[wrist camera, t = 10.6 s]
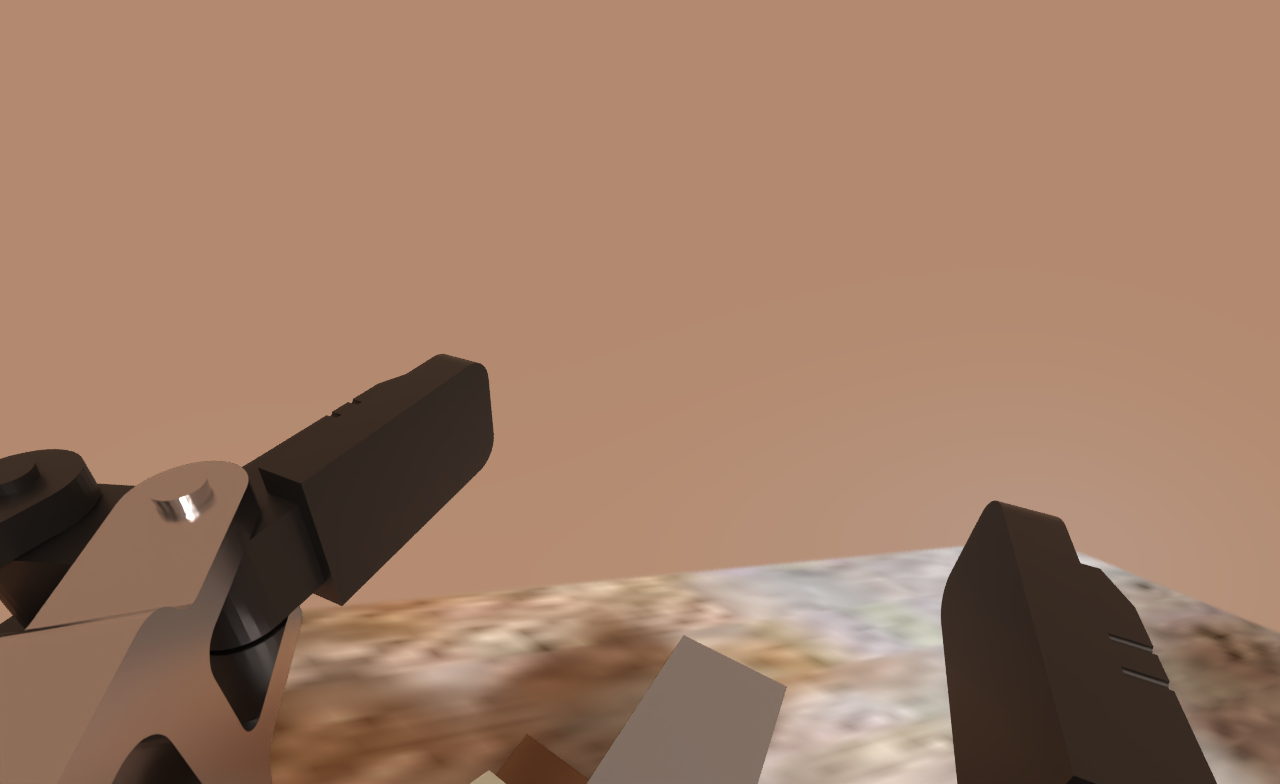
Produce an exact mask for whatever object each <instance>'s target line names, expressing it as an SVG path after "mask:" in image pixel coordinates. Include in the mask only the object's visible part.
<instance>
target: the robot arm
mask: <svg viewBox="0 0 1280 784" xmlns="http://www.w3.org/2000/svg"><path fill="white" fill-rule="evenodd" d="M493 439H494V433H493V422H492V411H491V401H490V391H489V379H488V373H487V370H486V369H485V367H484V366H483V365H482V364H480V363H476V362H472V361H469V360H465V359H461V358H457V357H453V356H449V355H446V354H439V355H436V356H434V357H432V358H431V359H429V360H428V361H426V362H425V363H423V364H421V365H420V366H418V367H417V368H415V369H413V370H412V371H410V372H409V373H407V374H405V375H402V376H400V377H396V378H394V379H391V380H388V381H385V382H382V383H379V384H377V385H375V386H374V387H372V388H370V389H369V390H367V391H365V392H364V393H362V394H361V395H359V396H357V397H356V398H354V399H353V402H352V403H349V402H348V403H346V404H344V405H343V406H341V407H339V408H338V409H336V410H334V411H333V412H332V415H331V416H325V417H323V418H321V419H320V420H318V421H317V422H315V423H313V424H312V425H310V426H309V427H307V428H305V429H304V430H302V431H300V432H299V433H297V434H295V435H294V436H292V437H291V438H289V439H287V440H286V441H284V442H282V443H281V444H279V445H277V446H276V447H274V448H273V449H271V450H269V451H268V452H266V453H264V454H263V455H262V456H260V457H258V458H256V459H255V460H253V461H252V462H250V463H248V464H246V465H245V466H243V467H240V466H238V465H237V464H234V463H230V462H224V461H204V462H197V463H191V464H186V465H183V466H179V467H176V468H172V469H169V470H167V471H164V472H162V473H159V474H157V475H155V476H153V477H151V478H148V479H147V480H145V481H143V482H142V483H140V484H138V485H137V486H127V485H126V486H125V485H109V484H97V483H96V481H95V479H94V478H93V476H92V475H91V472H90V471H89V469H88V467H87V466H86V464H85V462H84V460H83V459H82V458H81V456H80V455H79V454H77V453H75V452H72V451H68V450H60V449H47V450H38V451H31V452H26V453H21V454H17V455H13V456H8V457H5V458H2V459H0V600H1V601H2V603H3V604H4V605H5V606H6V608H7V609H8V610H9V611H10V612H11V614H12V615H13V616H12V617H11V618H9V619H7V620H6V621H4V622H3V623H1V624H0V784H272V778H271V770H270V748H271V741H272V736H273V732H274V728H275V725H276V721H277V717H278V713H279V709H280V705H281V701H282V697H283V693H284V689H285V685H286V681H287V678H288V674H289V670H290V666H291V662H292V658H293V654H294V650H295V646H296V642H297V638H298V634H299V631H300V627H301V622H302V611H301V608H300V606H299V605H300V604H302V603H303V602H304V601H305V600H306V599H307V598H308V597H309V596H310V595H311V594H313V593H314V594H316V595H318V596H320V597H323V598H325V599H327V600H330V601H332V602H334V603H336V604H339V605H341V606H343V605H344V604H345V603H346V602H347V601H348V600H349V599H350V598H351V597H352V596H353V595H354V594H355V593H356V592H357V591H358V590H359V589H360V588H361V587H362V586H363V585H364V584H365V583H366V582H367V581H368V580H369V579H370V578H371V577H372V576H373V575H374V574H375V573H376V572H377V571H378V570H379V569H380V568H381V567H382V566H383V565H384V564H385V563H386V562H387V561H388V560H389V559H390V558H391V557H392V556H393V555H395V554H396V553H397V552H398V551H399V550H400V549H401V548H402V547H403V546H404V545H405V544H406V543H407V542H408V541H409V540H410V539H411V538H412V537H413V536H414V534H416V533H417V532H418V531H419V530H420V529H421V528H422V527H423V526H424V525H425V524H426V523H427V522H428V521H429V520H430V519H431V518H432V517H433V516H434V515H435V514H436V513H437V512H438V511H439V510H440V509H441V508H442V507H443V506H444V505H445V504H446V503H447V502H448V501H449V500H451V498H453V497H454V496H455V495H456V494H457V493H458V492H459V491H460V490H461V489H462V488H463V487H464V486H465V485H466V484H467V483H468V482H469V481H470V480H471V479H472V478H473V477H474V476H475V475H476V474H477V473H478V472H479V471H480V470H481V469H482V468H483V466H484V465H485V464H486V462H487V460H488V458H489V456H490V453H491V451H492V447H493V441H494V440H493ZM941 625H942V635H943V645H944V655H945V665H946V675H947V685H948V695H949V704H950V714H951V724H952V734H953V744H954V754H955V764H956V774H957V784H1217V783H1216V780H1215V778H1214V776H1213V774H1212V772H1211V770H1210V768H1209V765H1208V763H1207V761H1206V759H1205V757H1204V755H1203V752H1202V750H1201V748H1200V746H1199V744H1198V742H1197V740H1196V737H1195V735H1194V733H1193V731H1192V729H1191V727H1190V725H1189V722H1188V720H1187V718H1186V716H1185V714H1184V712H1183V710H1182V707H1181V705H1180V703H1179V701H1178V699H1177V697H1176V694H1175V692H1174V691H1172V690H1169V688H1168V684H1169V679H1168V677H1167V675H1166V673H1165V671H1164V669H1163V667H1162V664H1161V662H1160V660H1159V658H1158V656H1157V655H1155V654H1152V649H1153V645H1152V643H1151V641H1150V639H1149V636H1148V634H1147V632H1146V630H1145V628H1144V626H1143V624H1142V621H1141V619H1140V617H1139V615H1138V613H1137V611H1136V609H1135V607H1134V606H1133V605H1132V603H1131V602H1130V601H1129V600H1128V599H1127V598H1126V597H1125V596H1124V595H1123V594H1122V592H1121V591H1120V590H1119V589H1118V588H1117V587H1116V586H1115V585H1114V584H1113V583H1112V581H1111V580H1110V579H1109V578H1108V577H1107V576H1106V575H1105V574H1104V573H1103V572H1102V570H1101V569H1099V568H1095V567H1092V566H1088V565H1085V564H1081V563H1080V561H1079V559H1078V556H1077V554H1076V551H1075V549H1074V546H1073V543H1072V541H1071V539H1070V536H1069V533H1068V531H1067V528H1066V526H1065V524H1064V522H1063V521H1062V520H1061V519H1060V518H1058V517H1056V516H1052V515H1048V514H1044V513H1040V512H1037V511H1033V510H1029V509H1025V508H1021V507H1018V506H1014V505H1010V504H1006V503H1003V502H999V501H992V502H990V503H989V504H988V505H987V506H986V507H985V509H984V511H983V512H982V514H981V516H980V518H979V520H978V522H977V523H976V525H975V528H974V529H973V531H972V533H971V535H970V537H969V539H968V541H967V543H966V545H965V546H964V548H963V550H962V552H961V554H960V556H959V558H958V560H957V562H956V564H955V566H954V568H953V569H952V571H951V573H950V575H949V577H948V580H947V583H946V586H945V589H944V594H943V599H942V606H941Z"/></svg>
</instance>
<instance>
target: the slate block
mask: <svg viewBox="0 0 1280 784" xmlns="http://www.w3.org/2000/svg"><path fill="white" fill-rule="evenodd" d="M786 688H787V687H786V686H784V685H782V684H780V683H778V682H776V681H774V680H772V679H770V678H768V677H766V676H764V675H762V674H760V673H758V672H756V671H754V670H752V669H750V668H748V667H746V666H744V665H742V664H740V663H738V662H736V661H734V660H732V659H730V658H728V657H726V656H724V655H722V654H720V653H718V652H716V651H714V650H712V649H710V648H708V647H706V646H704V645H702V644H700V643H698V642H696V641H694V640H692V639H690V638H688V637H686V636H684V635H683V637H682V639H681V640H680V642H679V643H678V645H677V646H676V648H675V649H674V651H673V652H672V654H671V655H670V657H669V658H668V660H667V661H666V663H665V665H664V666H663V668H662V669H661V671H660V672H659V674H658V675H657V677H656V678H655V680H654V681H653V683H652V684H651V686H650V688H649V689H648V691H647V692H646V694H645V695H644V697H643V698H642V700H641V701H640V703H639V704H638V706H637V707H636V709H635V710H634V712H633V714H632V715H631V717H630V718H629V720H628V721H627V723H626V724H625V726H624V727H623V729H622V730H621V732H620V733H619V735H618V737H617V738H616V740H615V741H614V743H613V744H612V746H611V747H610V749H609V750H608V752H607V753H606V755H605V756H604V758H603V759H602V761H601V763H600V764H599V766H598V767H597V769H596V770H595V772H594V773H593V775H592V776H591V778H590V779H589V781H588V782H587V784H758V780H759V777H760V774H761V770H762V767H763V764H764V761H765V757H766V754H767V751H768V747H769V744H770V741H771V737H772V734H773V731H774V727H775V724H776V721H777V717H778V714H779V711H780V708H781V704H782V701H783V698H784V694H785V691H786Z"/></svg>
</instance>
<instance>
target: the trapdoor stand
mask: <svg viewBox="0 0 1280 784" xmlns="http://www.w3.org/2000/svg"><path fill="white" fill-rule="evenodd" d="M496 776H497V777H498V778H499V779H501V780H502V781H503V782H504V783H506V784H587V782H588V781H589V780H588V779H587V778H586V777H584V776H583V775H581V774H580V773H579V772H577V771H576V770H575V769H573V768H572V767H571V766H569V765H568V764H567V763H565V762H564V761H563V760H561V759H560V758H559V757H557V756H556V755H555V754H553V753H552V752H550V751H549V750H548V749H546V748H545V747H544V746H542V745H541V744H540V743H538V742H537V741H536V740H534V739H533V738H532V737H530V736H529V735H528V734H527V735H526V736H525V738H524V739H523V740H522V742H521V743H520V744H519V746H518V747H517V748H516V749H515V751H514V752H513V753H512V755H511V756H510V757H509V759H508V760H507V761H506V763H505V764H504V765H503V767H502V768H501V769H500V771H499V772H498V773H497V774H496Z"/></svg>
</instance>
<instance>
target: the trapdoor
mask: <svg viewBox="0 0 1280 784" xmlns="http://www.w3.org/2000/svg"><path fill="white" fill-rule="evenodd" d="M470 784H506V783H504V782H503V781H502V780H501V779H499V778H498V777H497V776H496V775H494V774H493V773H492V772H491V771H489V770H488V771H487V772H485V773H484V774H483V775H481V776H480V777H478V778H477V779H475V780H474V781H473V782H471V783H470Z"/></svg>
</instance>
